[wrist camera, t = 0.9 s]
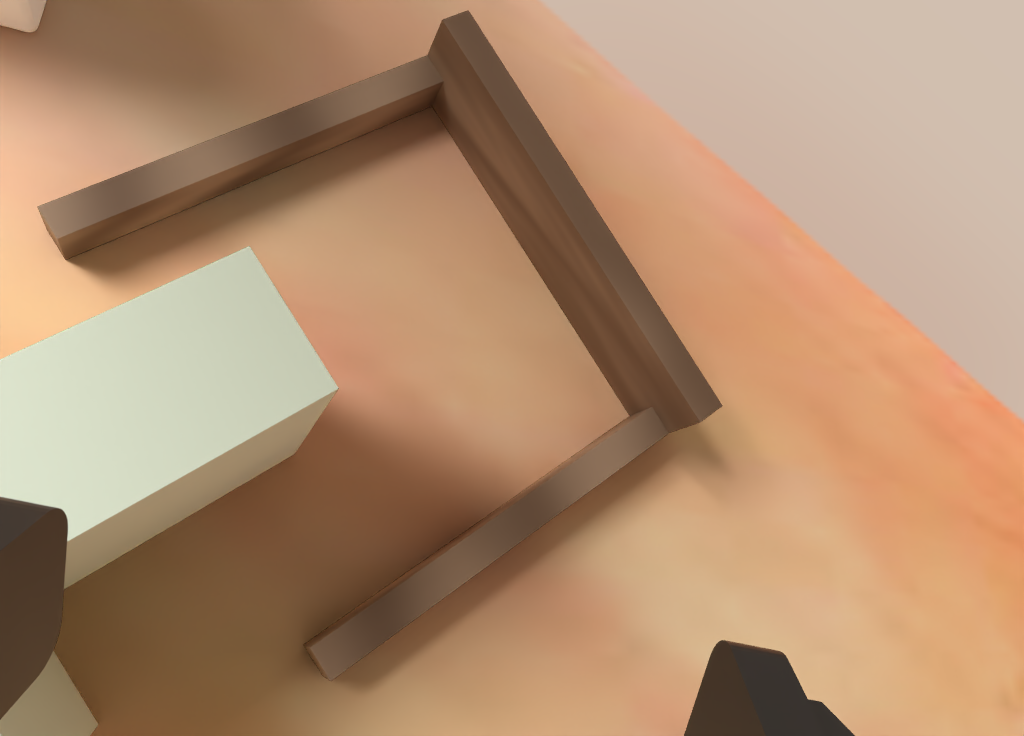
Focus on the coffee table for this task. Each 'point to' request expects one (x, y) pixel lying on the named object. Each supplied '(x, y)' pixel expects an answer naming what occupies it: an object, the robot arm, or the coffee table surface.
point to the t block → (151, 427)
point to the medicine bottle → (21, 14)
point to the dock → (535, 223)
